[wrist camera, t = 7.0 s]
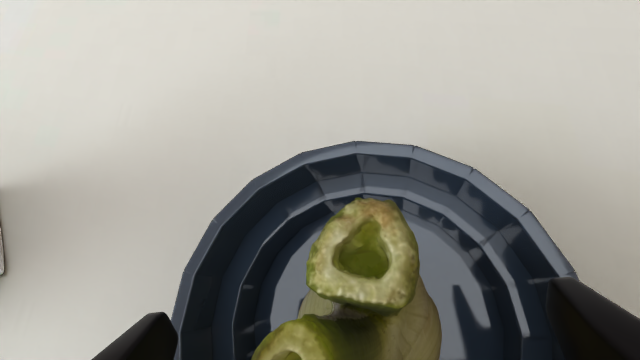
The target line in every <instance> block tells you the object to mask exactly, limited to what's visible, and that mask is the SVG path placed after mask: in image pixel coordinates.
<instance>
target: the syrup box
mask: <svg viewBox="0 0 640 360" xmlns="http://www.w3.org/2000/svg"><path fill="white" fill-rule="evenodd" d="M3 273H4V255H3V244H2V236H1V228H0V275H2V274H3Z"/></svg>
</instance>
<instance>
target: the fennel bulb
mask: <svg viewBox="0 0 640 360" xmlns="http://www.w3.org/2000/svg"><path fill="white" fill-rule="evenodd" d="M306 267H307V271H306V285H307V286H308V287H309V288H310V290H309V292H308V293H307V295H306V296H305V298H304V300H303V302H302V304H301V307H300V310H299V314H298V318H297V319H296V320H290V321H287V322H285V323H282V324H281V325H280V326H279V327H278V328H276V329H275V330H274V331H272V332H271V333H269V334H268V335H267V336H266V337H265V338H264V339H263V341H262V342H261V343H260V345H259V346H258V347H257V349H256V350H255V352H254V354H253V356H252V359H251V360H439V357H440V349H441V342H442V330H441V322H440V319H439V314H438V310H437V307H436V305H435V303H434V301H433V300H432V298H431V297H430V296H429V294H428V293H427V291H426V289H425V286H424V283H423V280H422V278H421V276H420V274H419V271H420V260H419V248H418V243H417V241H416V239H415V235H414V233H413V231H412V230H411V229H410V227H409V226H408V224H407V222H406V220H405V218H404V216H403V214H402V212H401V211H400V209H399V208H398V206H397V205H396V203H395V202H393V201H392V200H389V199H388V200H385V201H381V200H378V199H373V198H367V199H362V198H360V197H357V198H355V200H354V201H352V202H351V203H349V204H347V205H345V207H344V208H342V209H341V210H340V211H339V212H338V213H337V214H336V215H334V216H332V217H331V218H330V219H329V221H328V222H327V223H326V225H325V226H324V228H323V230H322V232H321V233H320V235H319V237H318V239H317V240H316V241H315V242H314V243H313V244H312V246H311V250H310V252H309V258H308V261H307V263H306Z"/></svg>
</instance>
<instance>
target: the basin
mask: <svg viewBox="0 0 640 360" xmlns="http://www.w3.org/2000/svg"><path fill="white" fill-rule="evenodd" d="M357 197H360V198H362V199H367V198H373V199H378V200H381V201H385V200H388V199H389V200H392V201H393V202H395V203H396V205H397V206H398V208H399V209H400V211H401V212H402V214H403V216H404V218H405V220H406V222H407V224H408V226H409V227H410V229H411V230H412V231H413V233H414V235H415V239H416V241H417V243H418V248H419V260H420V271H419V274H420V276H421V278H422V280H423V283H424V286H425V289H426V291H427V293H428V294H429V296H430V297H431V298H432V300H433V301H434V303H435V305H436V307H437V310H438V314H439V319H440V322H441V330H442V342H441V349H440V357H439V360H566V359H565V357H564V355H563V352H562V350H561V347H560V345H559V343H558V340H557V338H556V335H555V333H554V331H553V328H552V326H551V323H550V321H549V319H548V316H547V312H546V298H547V288H548V282H549V280H550V279H552V278H561V277H572V278H574V279H576V280H578V281H579V279H578V276H577V274H576V272H574V271H575V270H574V269H573V267H572V266H571V265H570V263H569V262H568V260H567V259H566V258H565V256H564V255H563V254H562V252H561V251H560V250H559V248H558V247H557V246H556V244H555V243H554V242H553V240H552V239H551V238H550V236H549V235H548V234H547V232H546V231H545V230H544V228H543V227H542V225H541V224H540V223H539V221H538V220H537V219H536V217H535V216H534V215H533V213H532V212H531V211H529V209H528V208H527V207H525V206H524V205H523V204H521V203H520V202H519V201H517V200H516V199H515V198H513V197H512V196H511V195H509V194H508V193H507V192H506V191H504V190H503V189H502V188H500V187H499V186H498V185H496V184H495V183H494V182H492V181H491V180H490V179H488V178H487V177H486V176H484V175H483V174H482V173H480V172H479V171H478V170H476V169H473V167H471V166H468V165H465V164H463V163H460V162H457V161H455V160H452V159H450V158H447V157H444V156H442V155H439V154H436V153H434V152H431V151H428V150H426V149H423V148H421V147H418V146H414V145H405V144H391V143H378V142H364V141H352V142H348V143H343V144H339V145H334V146H329V147H325V148H320V149H316V150H311V151H307V152H302V153H301V154H298V155H296V156H294V157H292V158H291V159H289V160H287V161H285V162H283V163H282V164H280V165H278V166H276V167H274V168H273V169H271V170H269V171H267V172H265V173H263V174H262V175H260V176H258V177H256V178H254V179H253V180H252V181H250V182H249V183H248V184H247V185H246V186H245V187H244V188H243V189H242V190H241V191H240V192H239V193H238V194H237V195H236V196H235V197H234V198H233V199H232V200H231V201H230V202H229V203H228V204H227V205H226V206H225V207H224V208H223V209H222V210H221V211H220V212H219V213H218V214H217V215H216V216H215V217H214V218H213V220H212V221H211V223H210V225H209V227H208V228H207V230H206V232H205V234H204V235H203V237H202V239H201V241H200V243H199V244H198V246H197V248H196V250H195V251H194V253H193V255H192V257H191V259H190V260H189V262H188V264H187V266H186V267H185V269H184V272H183V275H182V279H181V283H180V286H179V290H178V294H177V298H176V302H175V306H174V310H173V314H172V318H171V323H172V324H173V326H174V328H175V330H176V331H177V334H178V345H177V348H176V352H175V356H174V360H251V359H252V356H253V354H254V352H255V350H256V349H257V347H258V346H259V345H260V343H261V342H262V341H263V339H264V338H265V337H266V336H267V335H268V334H269V333H271V332H272V331H274V330H275V329H276V328H278V327H279V326H280V325H281V324H282V323H285V322H287V321H290V320H296V319H297V318H298V314H299V310H300V307H301V304H302V302H303V300H304V298H305V296H306V295H307V293H308V292H309V290H310V288H309V287H308V286H307V285H306V271H307V267H306V263H307V261H308V258H309V252H310V250H311V246H312V244H313V243H314V242H315V241H316V240H317V239H318V237H319V235H320V233H321V232H322V230H323V228H324V226H325V225H326V223H327V222H328V221H329V219H330V218H331V217H332V216H334V215H336V214H337V213H338V212H339V211H340V210H341V209H342V208H344V207H345V205H347V204H349V203H351V202H352V201H354V200H355V198H357Z"/></svg>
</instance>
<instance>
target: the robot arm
mask: <svg viewBox="0 0 640 360" xmlns="http://www.w3.org/2000/svg"><path fill="white" fill-rule="evenodd" d="M546 312H547V316H548V319H549V321H550V323H551V326H552V328H553V331H554V333H555V335H556V338H557V340H558V343H559V345H560V347H561V350H562V352H563V355H564V357H565V359H566V360H640V319H639V318H637V317H636V316H634V315H633V314H631V313H629V312H628V311H626V310H625V309H623V308H621V307H620V306H618V305H616V304H615V303H613V302H612V301H610V300H608V299H607V298H605V297H604V296H602V295H600V294H599V293H597V292H596V291H594V290H592V289H591V288H589V287H588V286H586V285H584V284H583V283H581V282H580V281H578V280H576V279H574V278H572V277H561V278H552V279H550V280H549V282H548V288H547V298H546ZM177 345H178V334H177V331H176V330H175V328H174V326H173V324H172V323H171V321H170V319H169V317H168V316H167V314H165V313H164V312H158V313H150V314H147V315H146V316H144V317H143V318H142V319H141V320H139V321H138V322H137V323H136V324H135V325H133V326H132V327H131V328H130V329H128V330H127V331H126V332H125V333H123V334H122V335H121V336H120V337H119V338H117V339H116V340H115V341H114V342H112V343H111V344H110V345H109V346H108V347H106V348H105V349H104V350H103V351H101V352H100V353H99V354H98V355H97V356H95V357H94V358H93V359H92V360H174V356H175V352H176V348H177Z"/></svg>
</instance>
